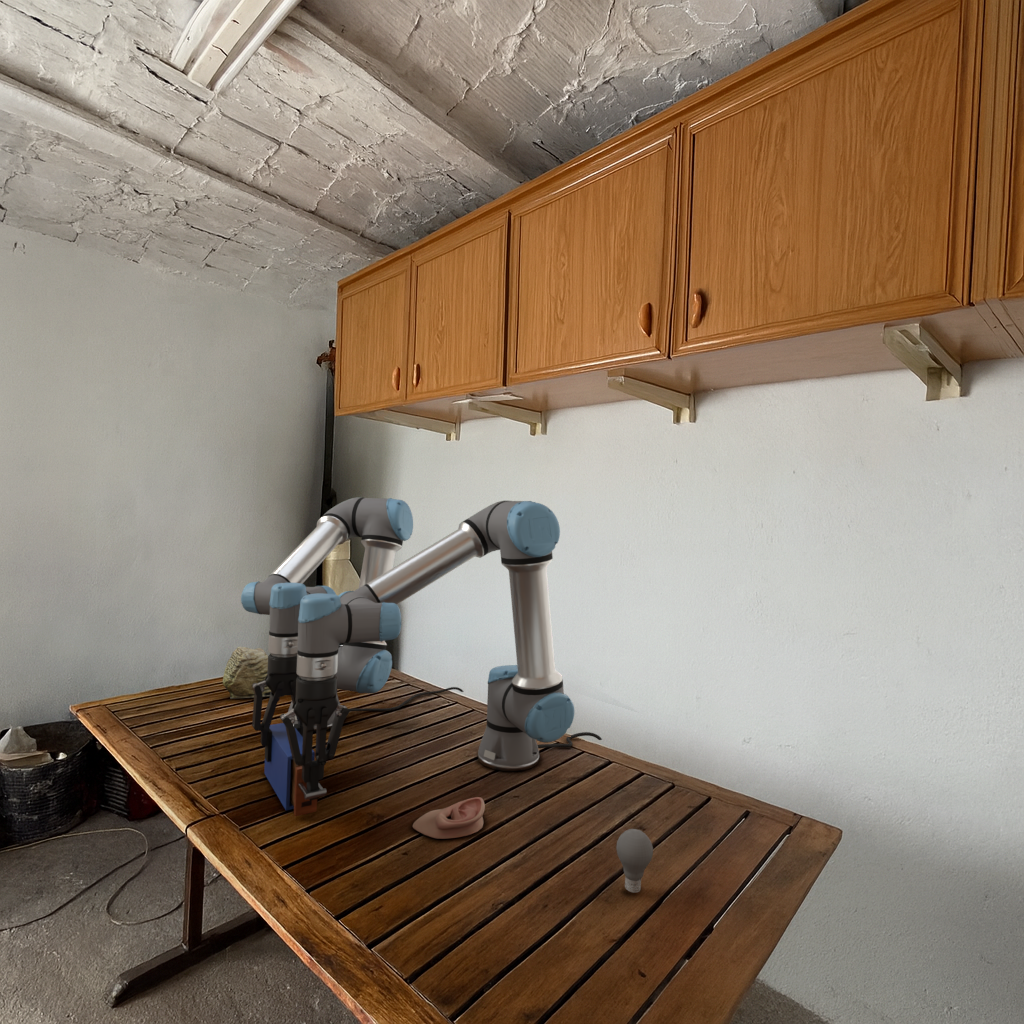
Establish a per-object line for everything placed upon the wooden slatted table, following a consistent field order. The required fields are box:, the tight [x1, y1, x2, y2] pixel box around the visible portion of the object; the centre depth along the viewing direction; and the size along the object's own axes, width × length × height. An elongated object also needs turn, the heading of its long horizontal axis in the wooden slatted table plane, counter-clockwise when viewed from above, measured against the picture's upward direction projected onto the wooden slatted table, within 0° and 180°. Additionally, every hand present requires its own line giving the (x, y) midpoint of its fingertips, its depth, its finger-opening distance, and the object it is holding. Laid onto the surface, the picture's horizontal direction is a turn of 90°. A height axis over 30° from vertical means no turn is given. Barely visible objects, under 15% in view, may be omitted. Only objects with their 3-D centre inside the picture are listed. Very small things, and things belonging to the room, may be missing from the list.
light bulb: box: [615, 828, 654, 894], centre depth 106 cm, size 6×6×10 cm
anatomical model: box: [412, 796, 486, 840], centre depth 124 cm, size 13×4×12 cm
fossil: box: [222, 646, 271, 699], centre depth 198 cm, size 9×18×15 cm, turn 132°
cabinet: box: [263, 722, 316, 811], centre depth 137 cm, size 19×5×11 cm, turn 34°
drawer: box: [290, 759, 328, 817], centre depth 130 cm, size 24×4×9 cm, turn 34°
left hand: (282, 756), depth 141 cm, fingers closed on cabinet, 5 cm apart
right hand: (311, 796), depth 122 cm, fingers closed
